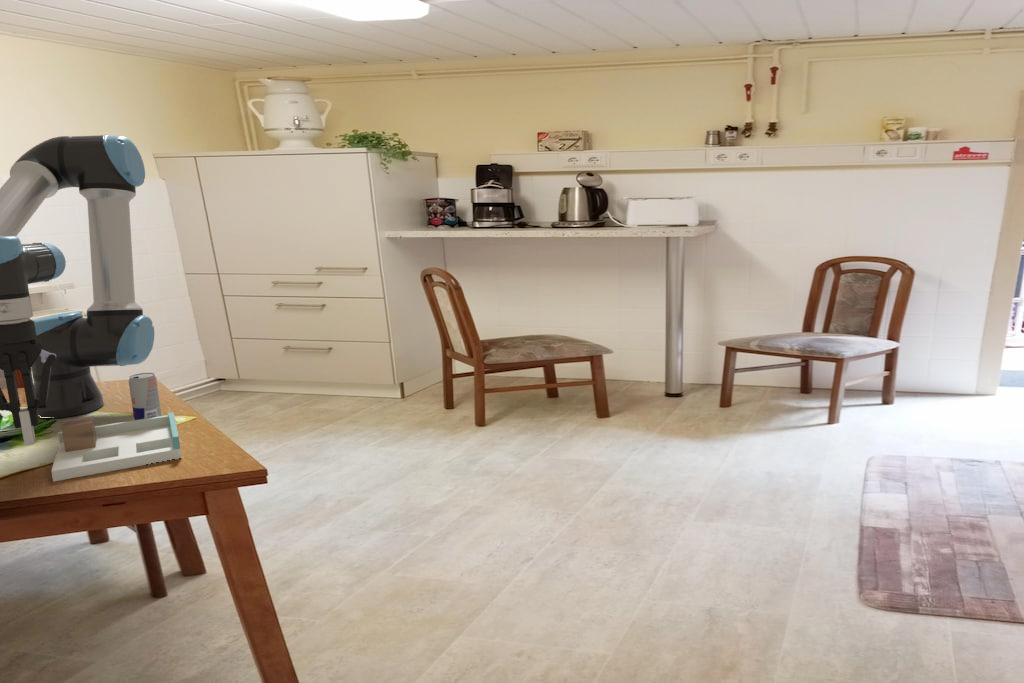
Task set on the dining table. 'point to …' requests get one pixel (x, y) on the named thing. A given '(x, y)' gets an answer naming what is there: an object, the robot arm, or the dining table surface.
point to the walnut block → (79, 434)
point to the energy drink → (144, 396)
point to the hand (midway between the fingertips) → (30, 442)
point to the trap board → (120, 448)
